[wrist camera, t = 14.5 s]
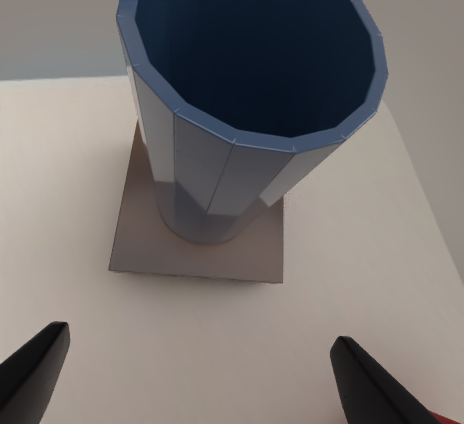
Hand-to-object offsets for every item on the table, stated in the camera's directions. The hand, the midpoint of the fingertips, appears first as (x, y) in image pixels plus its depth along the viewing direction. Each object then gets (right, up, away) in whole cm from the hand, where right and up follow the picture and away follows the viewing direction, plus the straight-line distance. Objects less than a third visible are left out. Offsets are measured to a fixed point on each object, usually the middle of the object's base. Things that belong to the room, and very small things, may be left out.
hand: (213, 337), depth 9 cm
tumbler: (-1, +5, +9) cm, 11 cm away
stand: (-2, +4, +13) cm, 14 cm away
